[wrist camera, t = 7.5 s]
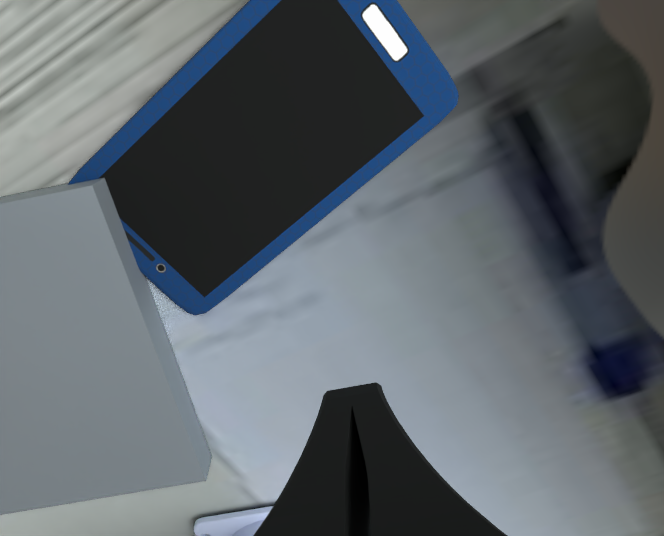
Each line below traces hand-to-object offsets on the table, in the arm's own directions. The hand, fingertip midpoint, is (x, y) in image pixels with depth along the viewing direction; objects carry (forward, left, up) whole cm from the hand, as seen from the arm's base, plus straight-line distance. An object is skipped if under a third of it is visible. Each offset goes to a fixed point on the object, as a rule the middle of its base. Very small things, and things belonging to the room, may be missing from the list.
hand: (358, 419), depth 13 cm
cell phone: (+5, +2, -10) cm, 12 cm away
